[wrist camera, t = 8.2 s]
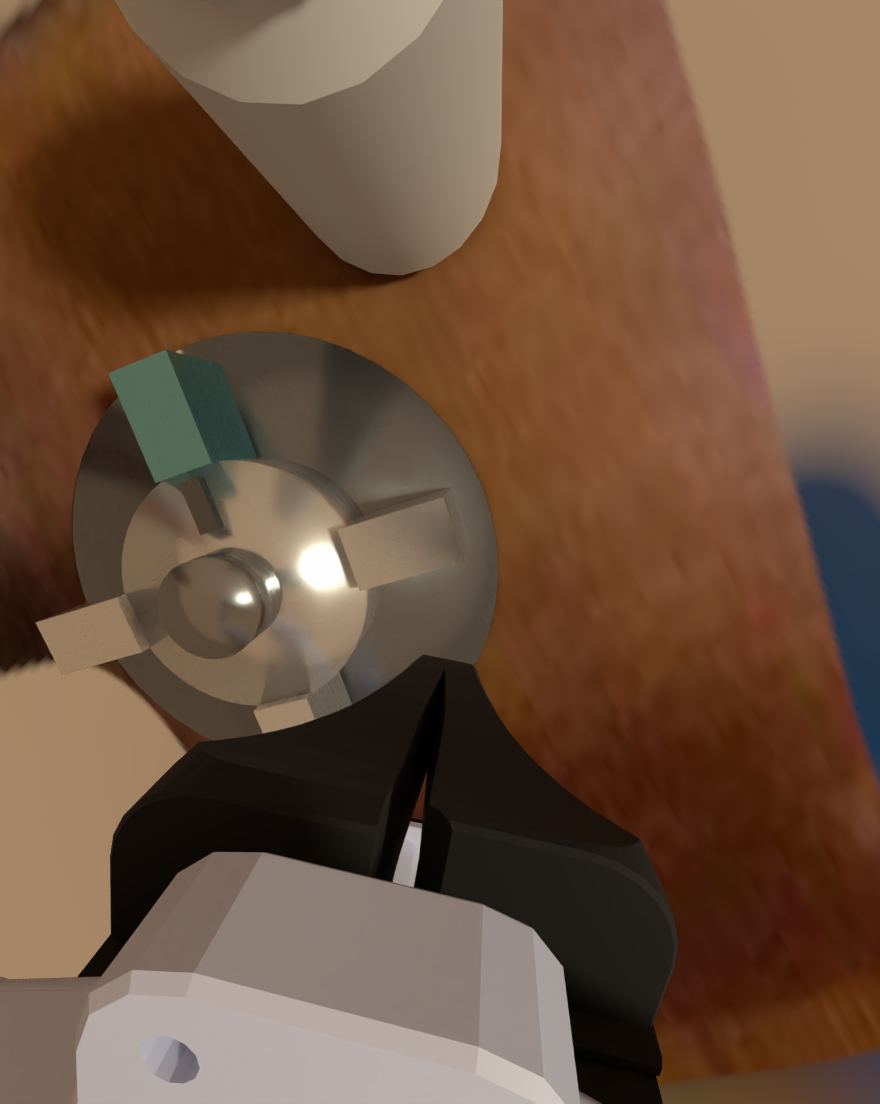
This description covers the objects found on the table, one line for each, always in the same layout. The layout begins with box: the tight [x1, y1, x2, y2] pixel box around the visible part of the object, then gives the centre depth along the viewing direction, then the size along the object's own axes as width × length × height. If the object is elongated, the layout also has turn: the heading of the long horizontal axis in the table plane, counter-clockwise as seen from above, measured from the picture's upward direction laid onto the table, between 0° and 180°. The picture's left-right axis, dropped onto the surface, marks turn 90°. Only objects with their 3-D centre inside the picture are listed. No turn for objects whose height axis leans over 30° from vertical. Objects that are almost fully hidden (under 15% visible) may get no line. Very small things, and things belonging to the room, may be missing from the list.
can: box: [115, 0, 503, 275], centre depth 12 cm, size 8×8×12 cm
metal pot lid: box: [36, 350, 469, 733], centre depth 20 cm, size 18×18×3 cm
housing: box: [73, 332, 498, 741], centre depth 19 cm, size 20×20×6 cm
